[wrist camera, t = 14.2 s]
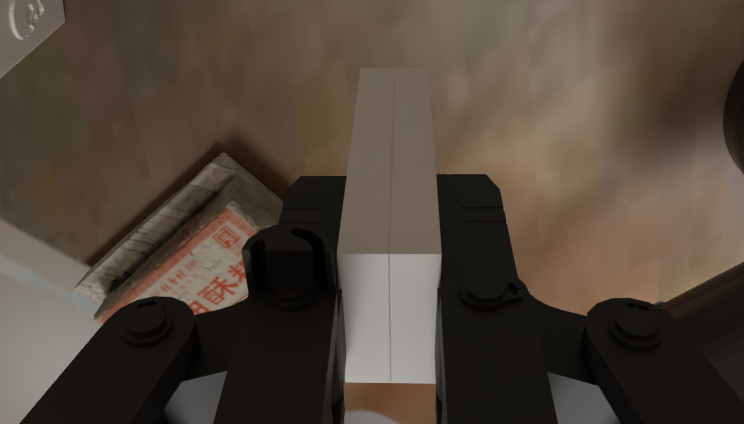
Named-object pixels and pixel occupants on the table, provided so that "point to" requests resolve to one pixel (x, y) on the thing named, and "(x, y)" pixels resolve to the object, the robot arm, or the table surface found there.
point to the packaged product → (188, 245)
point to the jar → (26, 28)
